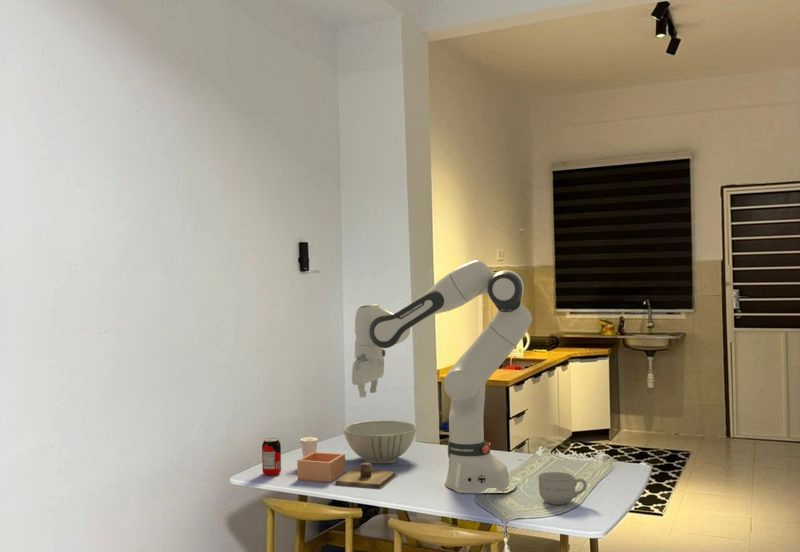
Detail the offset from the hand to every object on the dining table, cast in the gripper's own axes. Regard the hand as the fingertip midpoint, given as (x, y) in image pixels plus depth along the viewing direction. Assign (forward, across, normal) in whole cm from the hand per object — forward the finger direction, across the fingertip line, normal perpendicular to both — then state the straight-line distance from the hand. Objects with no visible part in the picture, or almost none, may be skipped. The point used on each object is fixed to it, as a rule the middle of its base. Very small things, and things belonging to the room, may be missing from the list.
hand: (368, 394), depth 236 cm
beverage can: (+29, -2, +35) cm, 46 cm away
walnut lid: (+28, -2, 0) cm, 28 cm away
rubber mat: (+28, -2, 0) cm, 28 cm away
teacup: (+27, -7, -64) cm, 70 cm away
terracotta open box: (+29, -2, +16) cm, 33 cm away
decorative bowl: (+29, +25, +5) cm, 39 cm away
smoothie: (+29, +12, +27) cm, 41 cm away
